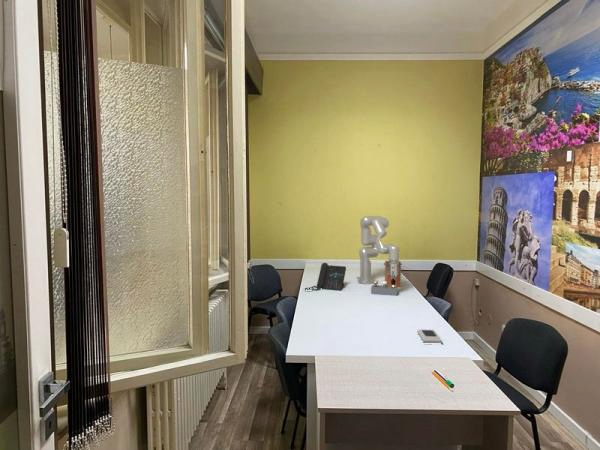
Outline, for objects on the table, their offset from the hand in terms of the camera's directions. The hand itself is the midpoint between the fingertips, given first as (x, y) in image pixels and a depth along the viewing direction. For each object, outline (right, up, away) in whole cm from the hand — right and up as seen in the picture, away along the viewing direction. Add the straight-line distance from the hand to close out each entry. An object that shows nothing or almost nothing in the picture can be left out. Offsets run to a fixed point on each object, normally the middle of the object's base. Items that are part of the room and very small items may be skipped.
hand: (393, 284), depth 313 cm
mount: (-7, -7, +2) cm, 10 cm away
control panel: (+5, -6, +25) cm, 26 cm away
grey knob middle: (-7, -2, +2) cm, 7 cm away
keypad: (-3, -16, -95) cm, 96 cm away
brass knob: (0, -5, 0) cm, 5 cm away
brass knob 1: (-13, -2, +4) cm, 14 cm away
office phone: (-53, -7, +19) cm, 56 cm away
